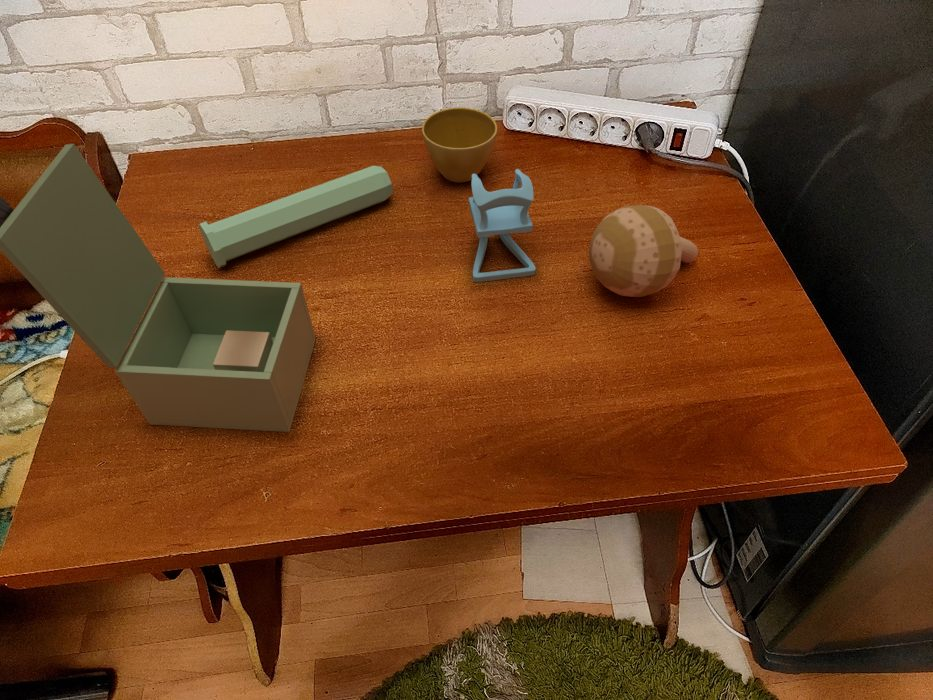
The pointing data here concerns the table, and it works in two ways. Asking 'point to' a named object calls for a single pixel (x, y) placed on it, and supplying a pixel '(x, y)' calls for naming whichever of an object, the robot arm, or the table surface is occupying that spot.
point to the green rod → (295, 214)
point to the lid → (82, 255)
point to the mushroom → (638, 250)
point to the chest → (196, 345)
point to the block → (243, 351)
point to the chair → (502, 223)
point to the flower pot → (459, 141)
